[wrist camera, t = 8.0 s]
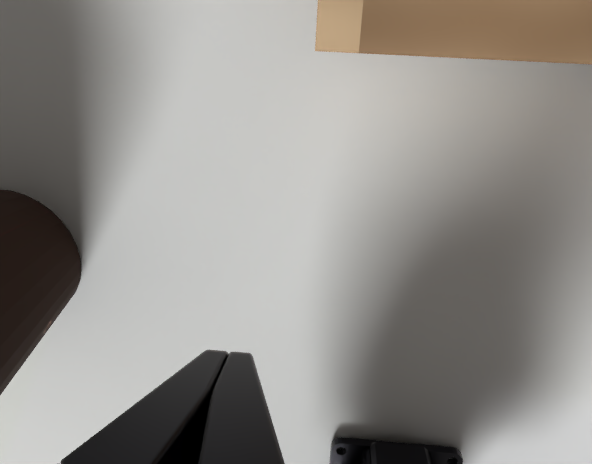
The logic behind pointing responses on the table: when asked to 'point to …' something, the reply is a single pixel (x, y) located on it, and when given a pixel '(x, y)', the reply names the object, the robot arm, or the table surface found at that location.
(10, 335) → the coffee mug
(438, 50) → the light wood rectangular frame
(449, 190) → the table surface
